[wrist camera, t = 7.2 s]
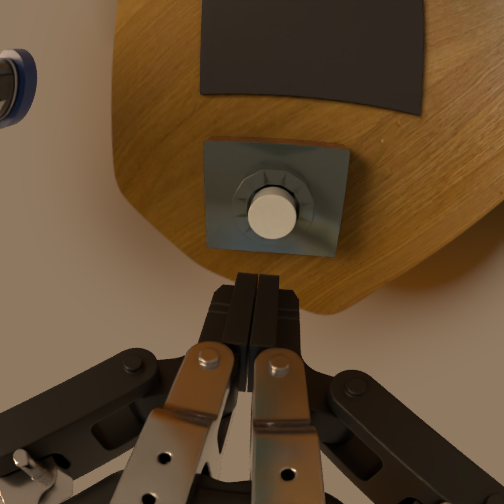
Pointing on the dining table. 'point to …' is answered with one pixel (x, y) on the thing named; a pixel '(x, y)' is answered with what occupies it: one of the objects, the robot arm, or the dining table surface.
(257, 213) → the white push button
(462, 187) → the dining table surface
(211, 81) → the mat
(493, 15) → the dining table surface
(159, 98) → the dining table surface
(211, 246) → the push button box
